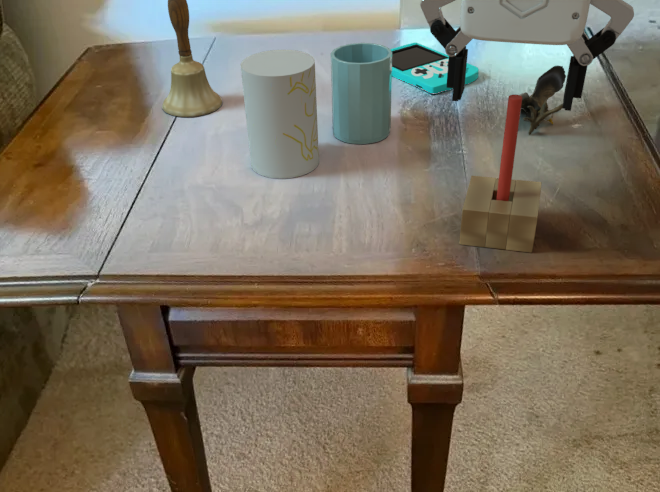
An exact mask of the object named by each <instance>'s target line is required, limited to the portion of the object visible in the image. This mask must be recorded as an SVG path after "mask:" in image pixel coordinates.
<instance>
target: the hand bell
mask: <svg viewBox="0 0 660 492" xmlns="http://www.w3.org/2000/svg"><path fill="white" fill-rule="evenodd" d="M189 10H190V9H189V5H188V1H187V0H167V12H168V16H169V21H170V24H171V25H172V28H173V30H174V32H175V36H176V41H177V42H176V43H177V50H178V51H177V52H178V57H179V61H178V62H176V63H175V64H174V65H172V66H171V68H170V88H169V92H168V95H167V96H166V97H165V98H164V100H163V102H162V107H161V108H162V110H163V112H164V113H166V114H168V115H171V116H173V117H178V118H179V117H180V118H194V117H196V118H197V117H200V116H201V117H202V116H206V115H208V114H212V113H213V112H216V111H217V110H219V109H220V108H221V106H222V104H223V99H222V97H221V96H220V94H219V93H217V92H216V91H215V90H214V89H213V88H212V86H211V85H210V83H209V80H208V77H207V74H206V70H205V69H206V68H205V66H204V65H203V63H202V62H199V61H197V60H194V57H193V54H192V48H191V43H190V37H189V28H190V11H189Z"/></svg>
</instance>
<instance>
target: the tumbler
mask: <svg viewBox="0 0 660 492" xmlns="http://www.w3.org/2000/svg"><path fill="white" fill-rule="evenodd" d="M390 49H391V48H390V47H387V46H386V45H384V44H379V43H373V42H356V43H355V42H354V43H348V44H343V45H340V46H338V47H336V48H334V49H332V51H331V52H330V77H331V78H330V81H331V82H330V83H331V84H330V85H331V114H332V115H331V116H332V117H331V118H332V133H333V136H334V137H335V139H337V140H339V141H341V142H344V143H347V144H352V145H368V144H369V145H370V144H375V143H377V142H381V141H383V140H385V139H386V138H387V137H389V136H390V135H391V128H392V127H391V126H392V89H393V88H392V87H393V84H392V82H393V80H392V79H393V76H392V52H391V50H390Z"/></svg>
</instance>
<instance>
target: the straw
mask: <svg viewBox="0 0 660 492" xmlns="http://www.w3.org/2000/svg"><path fill="white" fill-rule="evenodd" d="M521 104H522V96H520V94H510V95H509V96H508V99H507V105H506V106H507V107H506V114H505V123H504V132H503V139H502V149H501V155H500V156H501V157H500V164H499V165H500V166H499V173H498V178H499V181H498V189H497V198H496V200H501V201H509V195H510V187H511V180H513V171H514V164H515V158H516V157H515V156H516V149H517V142H518V141H517V140H518V135H519V134H518V132H519V125H520V118H521V111H522V108H521Z"/></svg>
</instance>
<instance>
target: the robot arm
mask: <svg viewBox="0 0 660 492" xmlns="http://www.w3.org/2000/svg"><path fill="white" fill-rule="evenodd" d="M455 1H456V0H421V1H420V4H419V5H420V9H421V11H422V13H423V16H424V19H425V21H426V23H427V24H428V26H429V31H430V33H431V35H432V36H433V37H434V39H436V40H437V42H438V43H439V44H440V45H441V46H442V48H443V49H444V52H445V54H446V55H448V56H449V61H448V73H447V88H453V89H452V96H451V100H452V102H459V101H461V99H462V98H463V97H462V96H463V94H464V92H465V87H466V85H465V76H466V66H467V63H468V54H469V49H468V48H467V46H468V45H469V43H471V42H472V41H473V40H477V41H485V42H495V43H496V42H497V43H498V42H499V43H510V44H511V43H512V44H525V45H528V44H530V45H545V46H567V47H568V49H569V50H570V52H571V53H572V55H571V56H570V59H569V64H568V70H567V75H566V79H565V87H564V92H563V98H562V99H563V100H562V104H563V108H562V110H563V109H564V111H567V112H568V111H569V112H570V111H572V106H573V103H574V102H573V101H574V99H582V96H583V91H584V87H585V81H586V76H587V71H588V66H589V65H591V64H592V63H593V61H594V60H595V59H596V58H598V57H599V56H600V55H602V54H603V53H604V52H605V51H607V50H608V49H610V48H611V47H613V45H615V43H616V41H617V39H618V38H619V36H621V35H622V34H623V32H624V31H625V30H626V28H627V27H628V25H629V24H630V23H631V22H632V21H633V19H634V17H635V10H634V6H632V4H631V5H630V4H629V3H627V2H626V1H624V0H461V3H460V16H459V26H458V28H456V30H455V29H454V27H453V26H452V25H451V24H450V22H449V21H448V20H447V19H446V18H445V17H444V14H443V11H442V7H445V6H447V5H449V4H451V3H453V2H455ZM590 6H592V7H594V8H596V9H597V10H599V11H601V12H602V13H604V14H606V15H607V16H609V17H610V18H609V21H608V22H607V24H606V25H605V26H604V27H603V28H601V29H600V30H599V31H598V32H596V33H595V34H593V35H592V36H591V37H590V38H589V36H588V34H587V33H586V31H585V29H586V25H587V22H588V16H589V11H590Z"/></svg>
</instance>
